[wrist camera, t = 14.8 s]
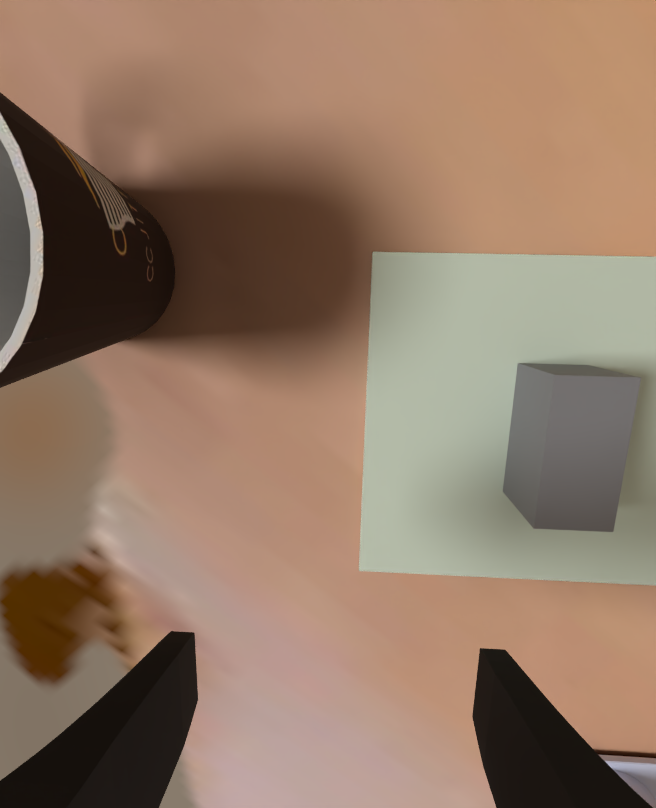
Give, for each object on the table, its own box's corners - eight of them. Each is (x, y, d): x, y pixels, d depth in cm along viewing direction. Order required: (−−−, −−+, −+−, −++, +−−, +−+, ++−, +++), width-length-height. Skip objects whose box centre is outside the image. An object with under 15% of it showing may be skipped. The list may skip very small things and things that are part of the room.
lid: (678, 574, 22) (761, 642, 17) (358, 559, 22) (360, 620, 18) (747, 261, 19) (871, 246, 14) (371, 254, 19) (378, 238, 15)
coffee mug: (213, 356, 20) (81, 401, 10) (34, 371, 20) (-254, 429, 11) (170, 67, 17) (-57, -239, 8) (-31, 94, 18) (-479, -157, 8)
